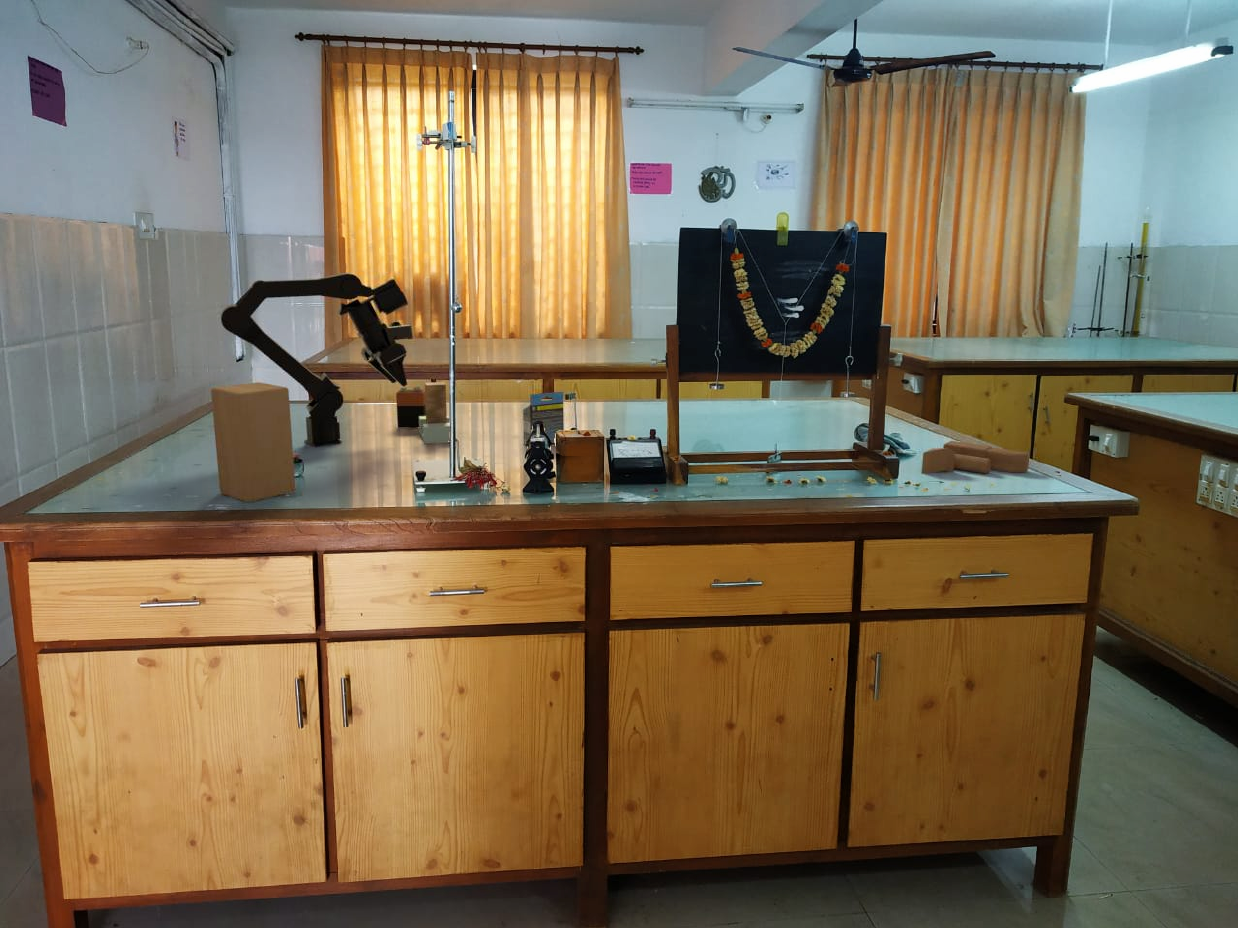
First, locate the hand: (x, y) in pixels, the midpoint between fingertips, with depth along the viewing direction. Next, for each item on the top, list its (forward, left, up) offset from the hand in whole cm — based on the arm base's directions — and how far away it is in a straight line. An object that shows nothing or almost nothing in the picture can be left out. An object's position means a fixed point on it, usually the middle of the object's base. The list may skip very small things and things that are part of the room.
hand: (400, 384), depth 224 cm
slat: (+7, -4, -12) cm, 14 cm away
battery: (+9, +11, -13) cm, 19 cm away
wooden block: (-45, -28, -13) cm, 55 cm away
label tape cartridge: (+23, -26, -13) cm, 37 cm away
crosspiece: (+7, -5, -13) cm, 15 cm away
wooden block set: (+77, -104, -14) cm, 130 cm away
